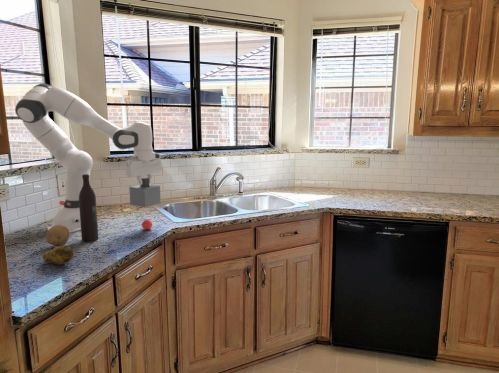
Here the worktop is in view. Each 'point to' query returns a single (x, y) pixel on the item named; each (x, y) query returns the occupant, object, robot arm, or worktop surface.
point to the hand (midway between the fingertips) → (144, 184)
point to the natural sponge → (57, 235)
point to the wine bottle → (88, 211)
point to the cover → (145, 194)
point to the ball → (146, 224)
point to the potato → (58, 255)
